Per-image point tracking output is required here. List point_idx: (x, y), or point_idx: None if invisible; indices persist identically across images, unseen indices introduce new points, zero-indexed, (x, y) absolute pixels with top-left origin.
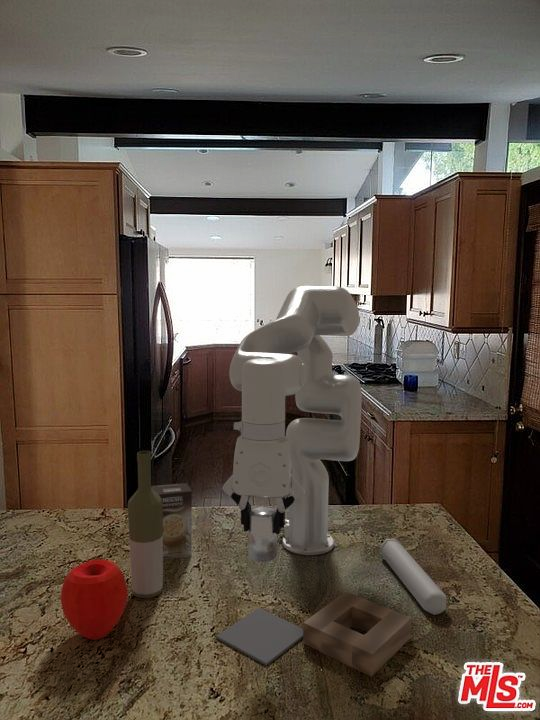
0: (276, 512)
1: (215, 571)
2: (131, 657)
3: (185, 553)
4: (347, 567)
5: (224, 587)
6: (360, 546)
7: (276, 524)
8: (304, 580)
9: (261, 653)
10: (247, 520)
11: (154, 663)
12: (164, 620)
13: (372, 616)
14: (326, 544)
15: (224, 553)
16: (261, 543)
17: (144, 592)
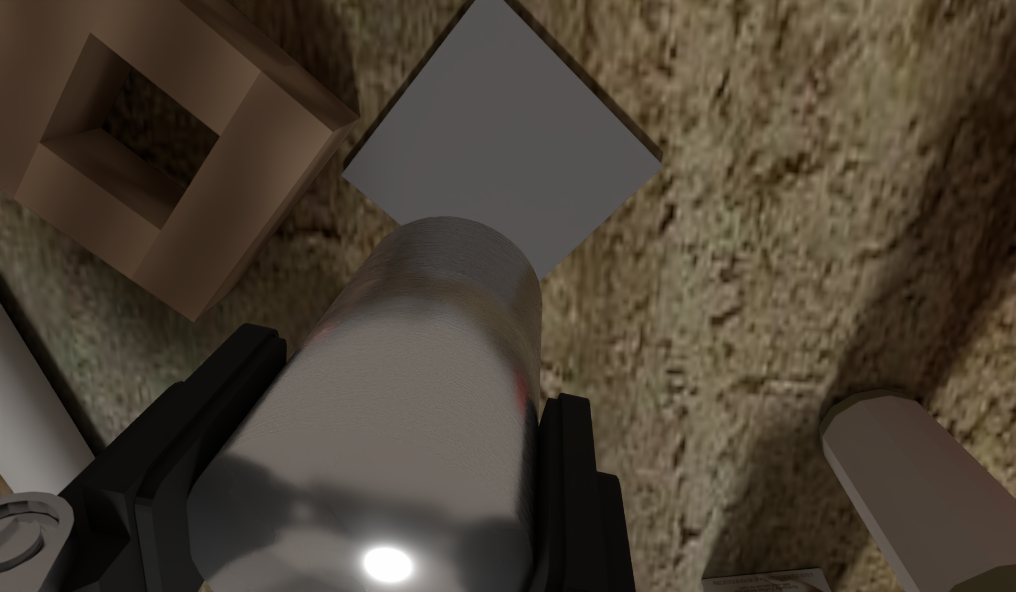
0: (122, 501)
1: (634, 506)
2: (988, 60)
3: (723, 587)
4: None
5: (611, 430)
6: None
7: (217, 380)
8: None
9: (504, 47)
10: (553, 474)
11: (906, 17)
12: (829, 274)
13: (84, 169)
14: None
15: None
16: (432, 273)
17: (898, 400)
